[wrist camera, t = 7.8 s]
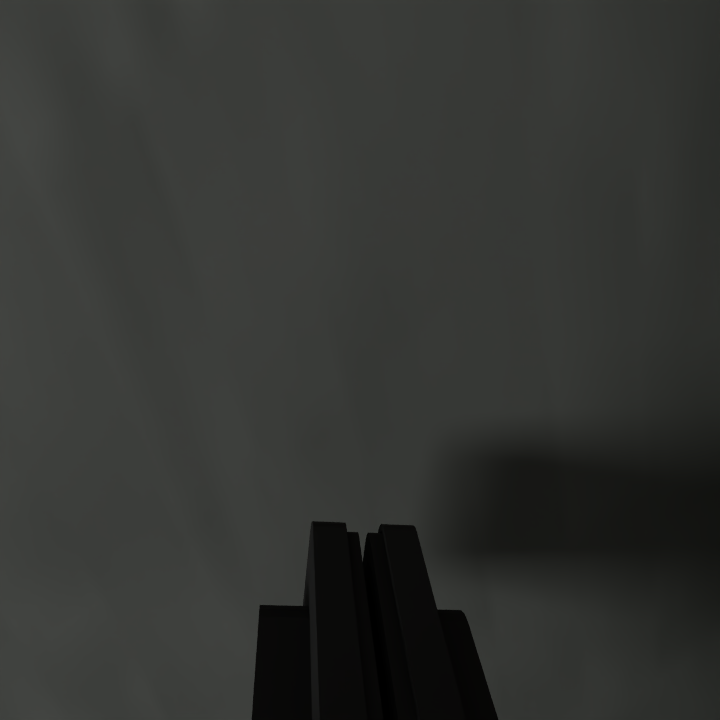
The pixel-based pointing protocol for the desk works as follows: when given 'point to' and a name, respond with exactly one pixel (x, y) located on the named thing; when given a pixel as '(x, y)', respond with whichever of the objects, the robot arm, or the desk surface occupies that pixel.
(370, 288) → the desk surface
